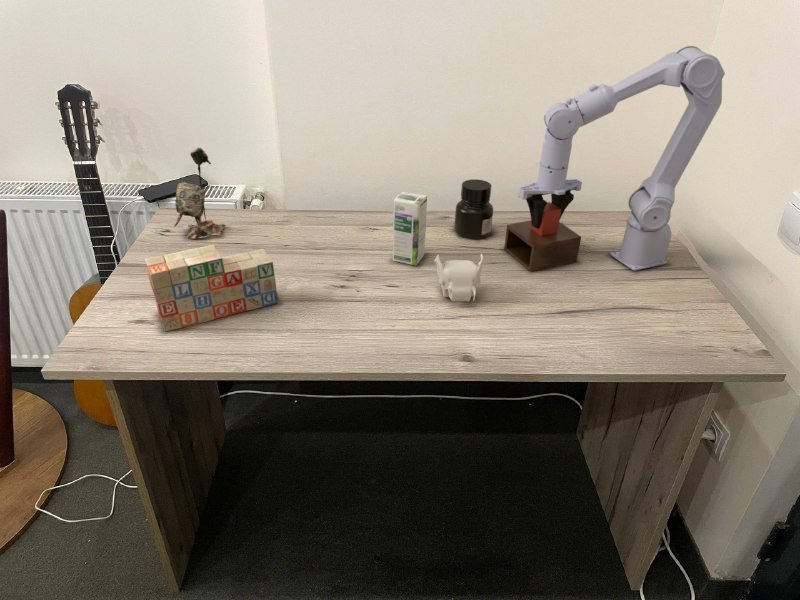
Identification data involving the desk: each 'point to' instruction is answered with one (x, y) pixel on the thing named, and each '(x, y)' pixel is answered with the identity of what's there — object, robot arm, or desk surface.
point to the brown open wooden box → (541, 246)
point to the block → (549, 220)
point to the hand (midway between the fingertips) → (544, 224)
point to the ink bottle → (474, 210)
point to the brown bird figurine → (195, 203)
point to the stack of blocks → (209, 284)
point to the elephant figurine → (458, 278)
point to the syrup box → (409, 227)
